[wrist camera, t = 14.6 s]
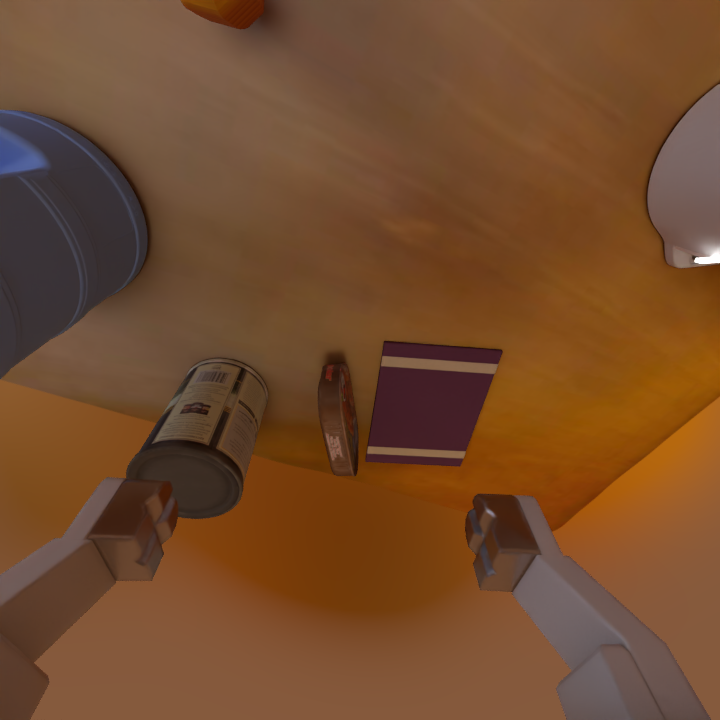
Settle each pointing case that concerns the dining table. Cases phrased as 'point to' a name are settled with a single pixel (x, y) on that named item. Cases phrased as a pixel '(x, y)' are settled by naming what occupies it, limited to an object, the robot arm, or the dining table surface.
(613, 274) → the dining table surface
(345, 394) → the tin
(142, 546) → the robot arm
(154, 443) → the coffee can
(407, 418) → the cloth
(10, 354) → the water jug
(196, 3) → the carrot
